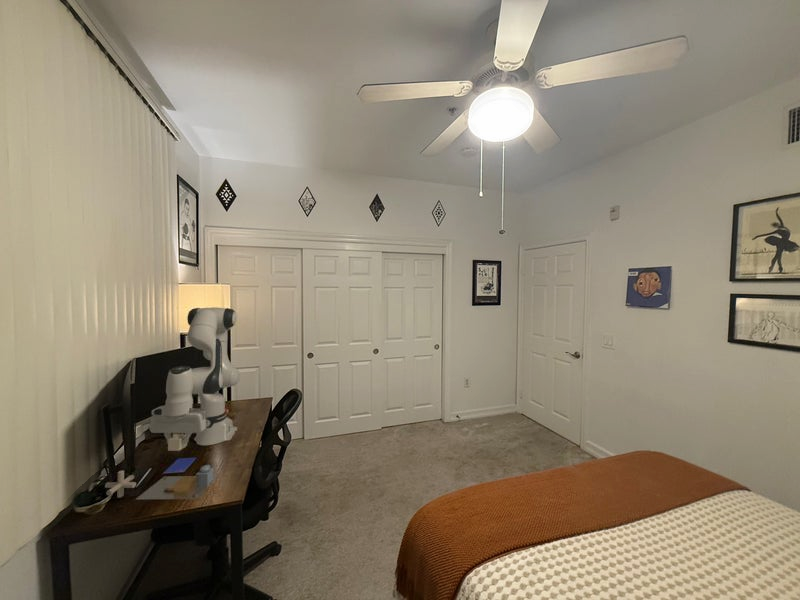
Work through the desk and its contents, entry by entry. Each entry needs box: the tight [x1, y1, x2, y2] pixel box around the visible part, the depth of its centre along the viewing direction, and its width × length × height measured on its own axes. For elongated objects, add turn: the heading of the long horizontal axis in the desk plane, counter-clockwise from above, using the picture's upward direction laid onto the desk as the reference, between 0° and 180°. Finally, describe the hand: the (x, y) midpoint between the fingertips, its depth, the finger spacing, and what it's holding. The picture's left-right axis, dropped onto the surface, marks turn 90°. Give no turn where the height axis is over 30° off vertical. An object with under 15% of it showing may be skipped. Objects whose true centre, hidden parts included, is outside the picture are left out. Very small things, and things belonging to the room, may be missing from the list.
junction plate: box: [135, 475, 219, 500], centre depth 123 cm, size 15×22×1 cm
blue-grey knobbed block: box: [195, 464, 215, 485], centre depth 127 cm, size 4×4×6 cm
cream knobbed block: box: [167, 433, 188, 452], centre depth 123 cm, size 4×4×6 cm
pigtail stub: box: [164, 477, 197, 495], centre depth 121 cm, size 5×11×4 cm, turn 92°
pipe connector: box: [104, 470, 137, 498], centre depth 117 cm, size 10×10×10 cm
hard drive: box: [162, 457, 197, 475], centre depth 139 cm, size 2×8×12 cm
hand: (177, 443), depth 123 cm, fingers closed on cream knobbed block, 4 cm apart
